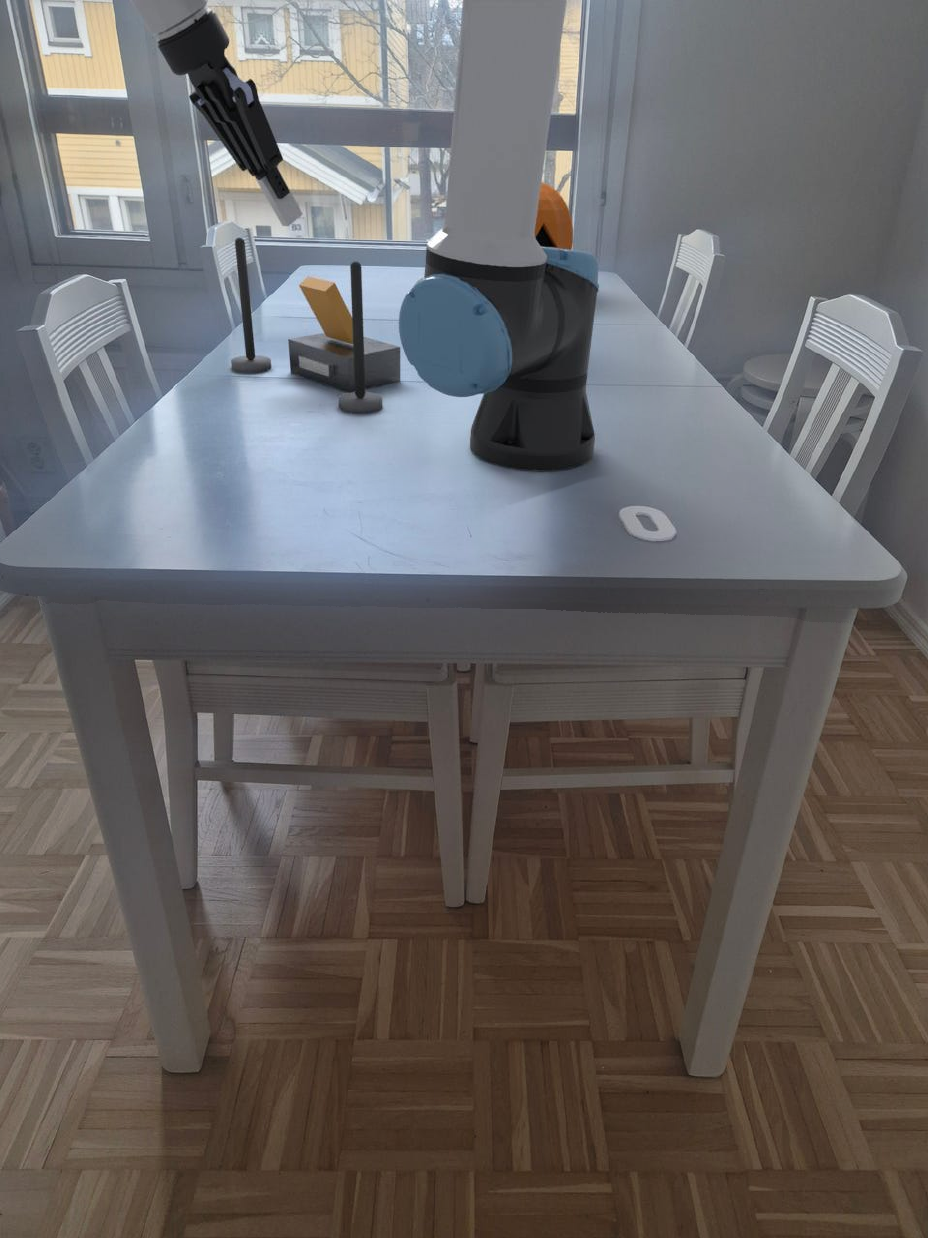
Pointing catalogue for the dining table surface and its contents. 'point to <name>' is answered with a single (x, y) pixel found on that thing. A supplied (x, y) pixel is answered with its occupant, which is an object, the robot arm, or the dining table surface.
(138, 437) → the dining table surface
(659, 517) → the chain link
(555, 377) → the robot arm
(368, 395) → the stand
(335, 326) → the orange rectangular prism
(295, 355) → the block
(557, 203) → the jack-o'-lantern
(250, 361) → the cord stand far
